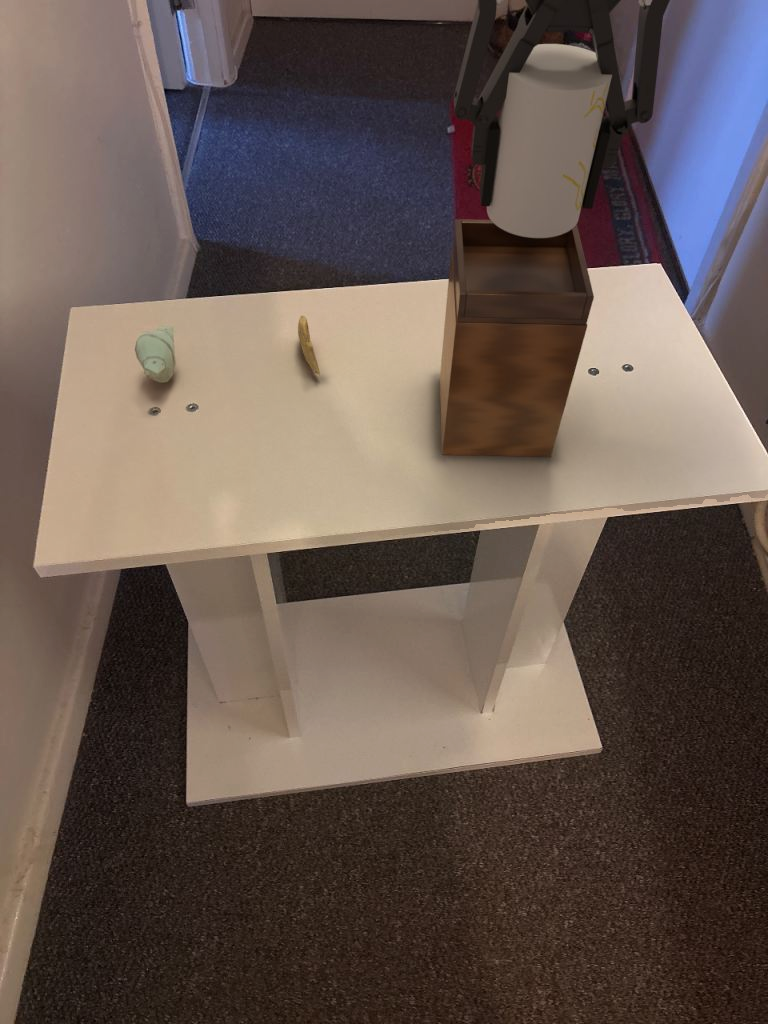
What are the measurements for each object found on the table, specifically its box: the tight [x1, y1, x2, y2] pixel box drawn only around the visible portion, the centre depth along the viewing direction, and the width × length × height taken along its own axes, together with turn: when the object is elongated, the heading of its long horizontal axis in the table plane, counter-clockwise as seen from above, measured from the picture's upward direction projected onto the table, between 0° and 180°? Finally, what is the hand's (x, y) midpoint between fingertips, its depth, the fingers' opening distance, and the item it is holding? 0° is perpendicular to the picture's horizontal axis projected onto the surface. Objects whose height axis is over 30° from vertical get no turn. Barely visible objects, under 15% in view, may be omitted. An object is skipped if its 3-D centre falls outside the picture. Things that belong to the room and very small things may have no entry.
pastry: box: [297, 315, 321, 376], centre depth 90 cm, size 9×2×5 cm, turn 17°
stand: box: [439, 246, 588, 458], centre depth 79 cm, size 12×12×18 cm
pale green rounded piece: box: [134, 326, 176, 384], centre depth 87 cm, size 8×4×7 cm, turn 177°
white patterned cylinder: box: [486, 43, 612, 238], centre depth 62 cm, size 8×8×12 cm
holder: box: [452, 218, 595, 325], centre depth 71 cm, size 12×12×3 cm
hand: (535, 198), depth 66 cm, fingers closed on white patterned cylinder, 8 cm apart
